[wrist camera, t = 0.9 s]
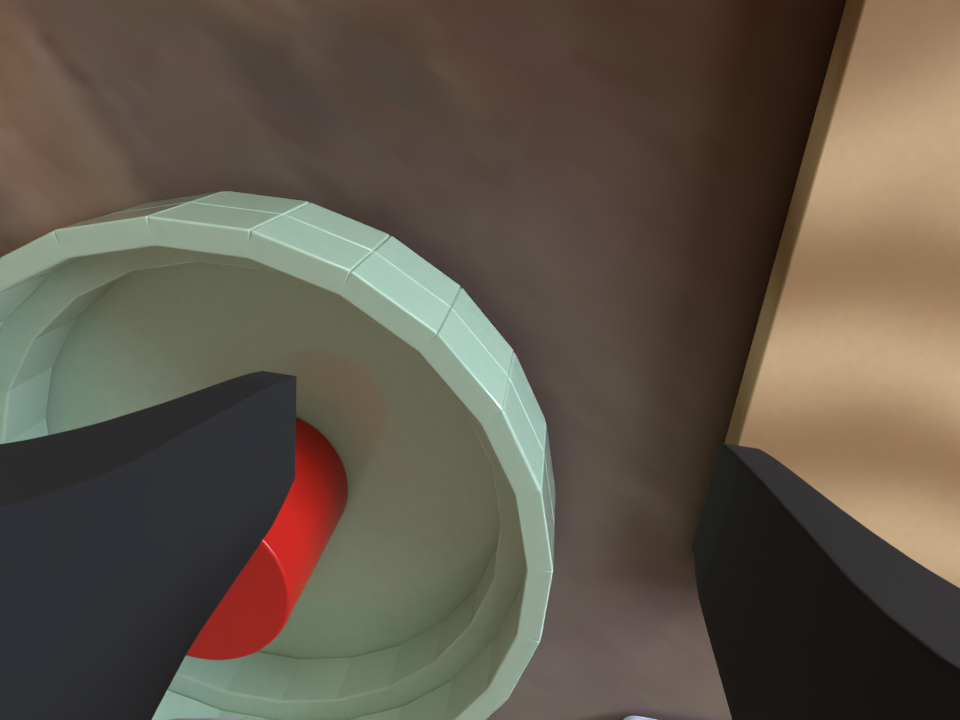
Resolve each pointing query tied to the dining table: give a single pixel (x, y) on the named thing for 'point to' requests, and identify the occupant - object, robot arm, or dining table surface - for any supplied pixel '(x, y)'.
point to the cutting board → (872, 288)
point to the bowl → (336, 415)
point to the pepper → (280, 556)
